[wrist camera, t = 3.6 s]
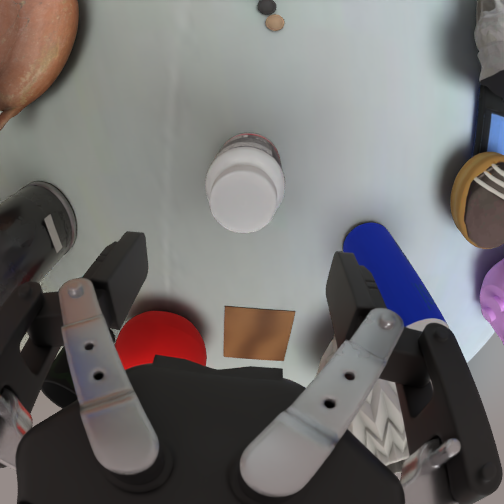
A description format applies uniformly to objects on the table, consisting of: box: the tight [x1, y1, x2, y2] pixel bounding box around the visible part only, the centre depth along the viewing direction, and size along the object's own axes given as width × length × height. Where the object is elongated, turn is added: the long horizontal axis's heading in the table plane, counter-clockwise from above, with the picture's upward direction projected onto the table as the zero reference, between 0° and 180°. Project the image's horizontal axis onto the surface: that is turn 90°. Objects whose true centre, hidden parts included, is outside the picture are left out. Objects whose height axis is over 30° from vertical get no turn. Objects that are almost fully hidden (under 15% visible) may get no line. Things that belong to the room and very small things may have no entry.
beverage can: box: [343, 223, 449, 332], centre depth 23 cm, size 5×5×15 cm
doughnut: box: [450, 152, 504, 249], centre depth 22 cm, size 9×4×10 cm
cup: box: [41, 328, 115, 409], centre depth 33 cm, size 8×8×12 cm
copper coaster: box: [224, 306, 295, 361], centre depth 37 cm, size 8×9×1 cm
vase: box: [315, 335, 433, 474], centre depth 29 cm, size 16×16×18 cm
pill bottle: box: [205, 133, 285, 233], centre depth 22 cm, size 5×5×10 cm
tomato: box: [115, 311, 207, 370], centre depth 32 cm, size 10×11×11 cm
